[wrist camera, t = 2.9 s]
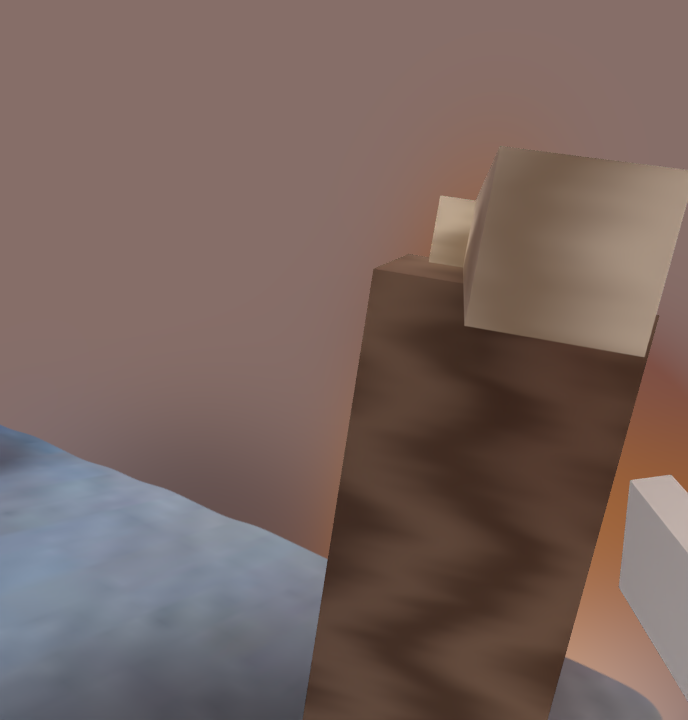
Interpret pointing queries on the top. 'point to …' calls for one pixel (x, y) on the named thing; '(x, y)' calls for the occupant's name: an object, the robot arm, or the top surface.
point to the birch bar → (565, 247)
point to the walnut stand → (462, 509)
